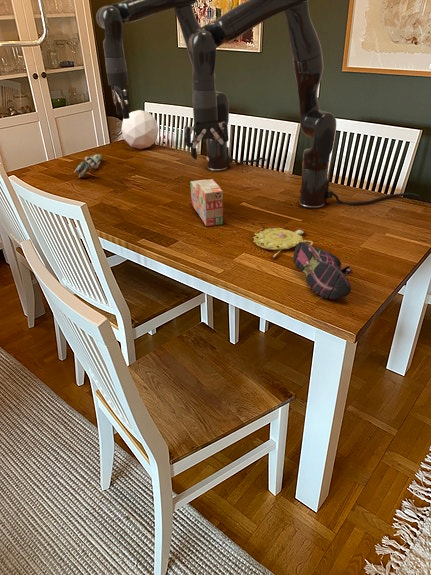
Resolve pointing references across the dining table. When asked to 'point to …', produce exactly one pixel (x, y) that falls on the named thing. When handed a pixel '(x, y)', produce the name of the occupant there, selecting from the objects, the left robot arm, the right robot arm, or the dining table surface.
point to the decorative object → (279, 239)
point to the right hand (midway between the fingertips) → (207, 157)
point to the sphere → (140, 129)
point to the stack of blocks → (207, 201)
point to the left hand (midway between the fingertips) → (123, 116)
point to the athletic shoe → (322, 271)
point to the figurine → (88, 164)
